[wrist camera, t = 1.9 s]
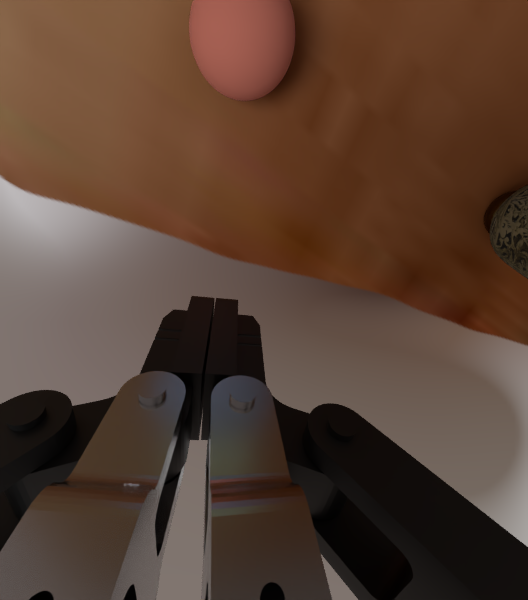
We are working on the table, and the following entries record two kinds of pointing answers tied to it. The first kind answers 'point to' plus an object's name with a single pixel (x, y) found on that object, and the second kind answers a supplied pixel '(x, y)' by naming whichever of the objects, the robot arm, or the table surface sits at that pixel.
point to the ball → (242, 44)
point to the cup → (510, 228)
